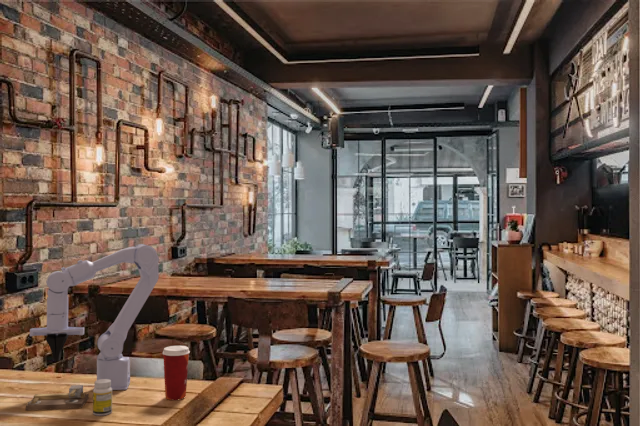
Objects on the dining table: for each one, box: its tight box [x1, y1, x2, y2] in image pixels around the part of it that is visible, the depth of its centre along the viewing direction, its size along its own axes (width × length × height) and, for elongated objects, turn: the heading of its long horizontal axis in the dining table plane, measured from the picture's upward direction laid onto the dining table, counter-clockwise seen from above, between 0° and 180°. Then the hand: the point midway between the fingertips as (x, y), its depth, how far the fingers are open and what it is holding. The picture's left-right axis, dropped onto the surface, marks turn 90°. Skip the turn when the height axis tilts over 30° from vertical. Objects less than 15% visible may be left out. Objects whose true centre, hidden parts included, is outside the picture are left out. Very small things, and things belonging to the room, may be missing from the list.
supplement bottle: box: [92, 379, 113, 417], centre depth 161 cm, size 5×5×8 cm
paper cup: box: [161, 345, 191, 401], centre depth 175 cm, size 8×8×14 cm
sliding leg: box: [68, 384, 84, 398], centre depth 168 cm, size 3×7×3 cm, turn 10°
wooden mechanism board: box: [25, 392, 90, 411], centre depth 168 cm, size 14×9×2 cm, turn 100°
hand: (57, 360), depth 178 cm, fingers closed
